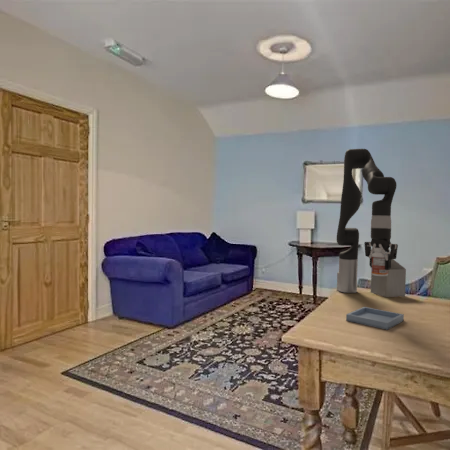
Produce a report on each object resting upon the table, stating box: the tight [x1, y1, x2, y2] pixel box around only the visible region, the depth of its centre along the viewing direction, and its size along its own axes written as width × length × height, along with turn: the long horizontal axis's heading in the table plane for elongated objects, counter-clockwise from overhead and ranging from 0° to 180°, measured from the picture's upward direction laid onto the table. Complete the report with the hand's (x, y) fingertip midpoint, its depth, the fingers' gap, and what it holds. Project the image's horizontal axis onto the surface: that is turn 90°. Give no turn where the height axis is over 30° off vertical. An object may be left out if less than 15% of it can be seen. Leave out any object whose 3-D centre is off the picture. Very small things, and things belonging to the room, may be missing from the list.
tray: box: [345, 306, 405, 331], centre depth 152 cm, size 16×16×2 cm
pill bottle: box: [371, 248, 388, 276], centre depth 155 cm, size 6×6×11 cm
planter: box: [370, 259, 407, 298], centre depth 194 cm, size 16×8×19 cm, turn 59°
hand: (380, 268), depth 155 cm, fingers closed on pill bottle, 6 cm apart
